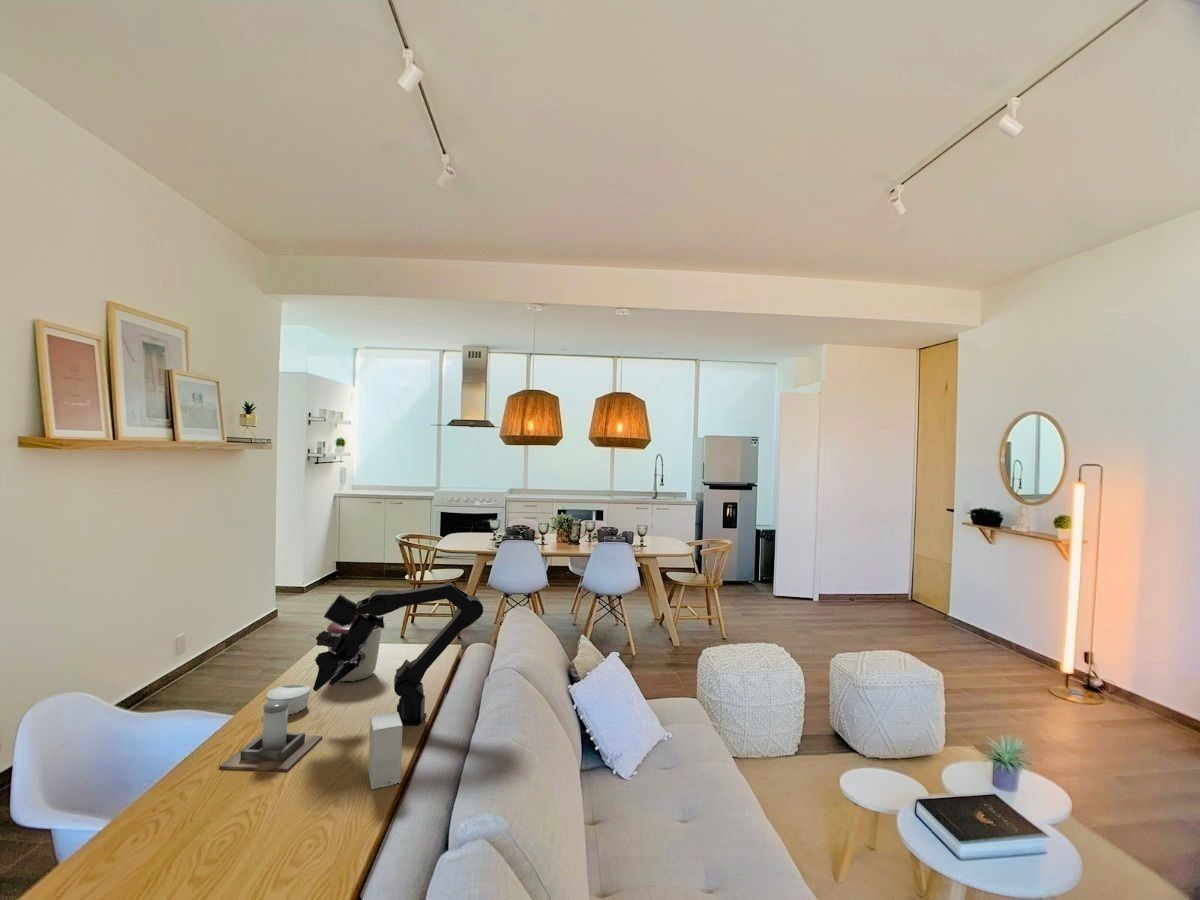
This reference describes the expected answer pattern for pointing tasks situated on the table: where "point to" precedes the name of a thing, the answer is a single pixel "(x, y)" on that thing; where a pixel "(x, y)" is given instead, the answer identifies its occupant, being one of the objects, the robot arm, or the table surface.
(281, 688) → the ramekin
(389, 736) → the small box
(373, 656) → the canister
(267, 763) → the jig board
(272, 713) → the grey cylinder
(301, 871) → the table surface
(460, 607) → the robot arm
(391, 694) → the table surface
